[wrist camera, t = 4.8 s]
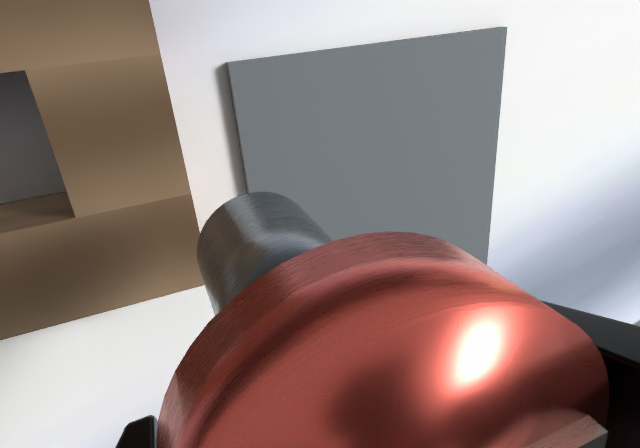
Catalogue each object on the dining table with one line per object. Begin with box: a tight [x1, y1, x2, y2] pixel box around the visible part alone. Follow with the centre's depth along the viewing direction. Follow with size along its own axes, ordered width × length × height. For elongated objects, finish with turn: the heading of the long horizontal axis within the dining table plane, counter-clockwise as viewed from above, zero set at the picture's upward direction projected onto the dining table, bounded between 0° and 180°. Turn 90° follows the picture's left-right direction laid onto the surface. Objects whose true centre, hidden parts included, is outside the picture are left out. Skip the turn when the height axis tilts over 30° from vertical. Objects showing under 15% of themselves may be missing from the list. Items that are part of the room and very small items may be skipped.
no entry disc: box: [156, 191, 609, 448], centre depth 9 cm, size 6×6×8 cm
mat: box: [226, 27, 507, 265], centre depth 22 cm, size 13×13×1 cm
